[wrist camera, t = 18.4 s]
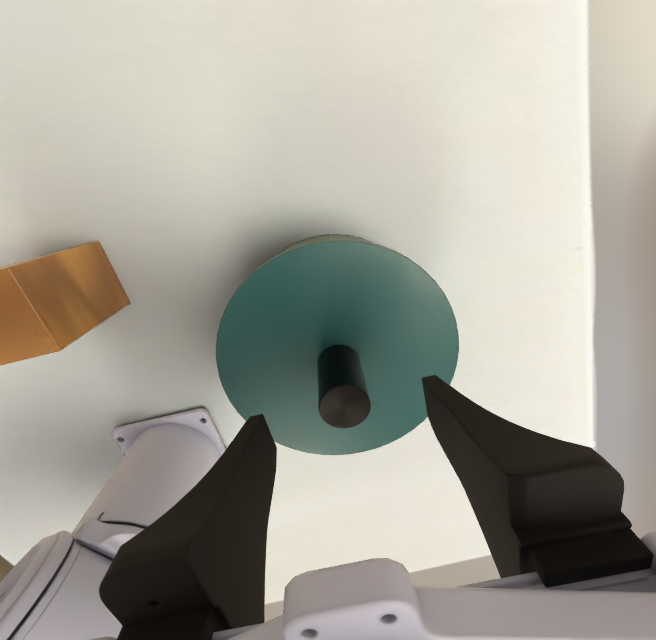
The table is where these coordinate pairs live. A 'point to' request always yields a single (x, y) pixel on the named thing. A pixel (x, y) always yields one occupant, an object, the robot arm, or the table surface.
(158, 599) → the robot arm
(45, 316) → the maple block
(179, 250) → the table surface
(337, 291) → the pot lid
